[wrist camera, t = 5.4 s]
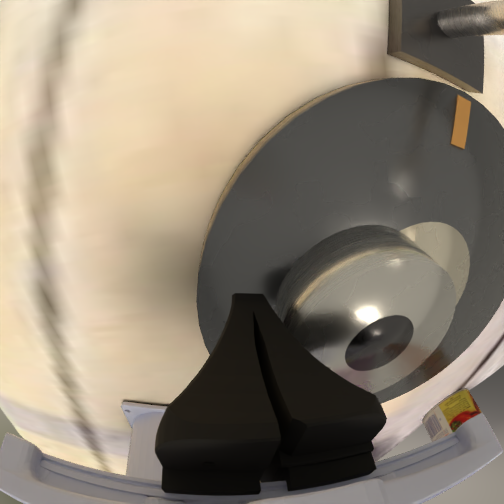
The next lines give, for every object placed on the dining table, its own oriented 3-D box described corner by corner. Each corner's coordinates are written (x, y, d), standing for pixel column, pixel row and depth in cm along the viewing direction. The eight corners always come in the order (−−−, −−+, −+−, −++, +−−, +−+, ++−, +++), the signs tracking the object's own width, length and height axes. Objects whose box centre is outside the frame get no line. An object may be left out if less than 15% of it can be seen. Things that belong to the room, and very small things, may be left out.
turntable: (440, 375, 22) (447, 386, 20) (202, 404, 19) (202, 422, 17) (536, 148, 11) (551, 153, 10) (212, 33, 9) (210, 23, 7)
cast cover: (391, 350, 16) (412, 387, 13) (264, 361, 15) (272, 408, 12) (442, 231, 12) (481, 262, 9) (288, 218, 11) (310, 257, 8)
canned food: (456, 408, 31) (485, 465, 20) (416, 428, 31) (442, 491, 20) (475, 380, 27) (512, 443, 16) (432, 403, 27) (467, 476, 16)
